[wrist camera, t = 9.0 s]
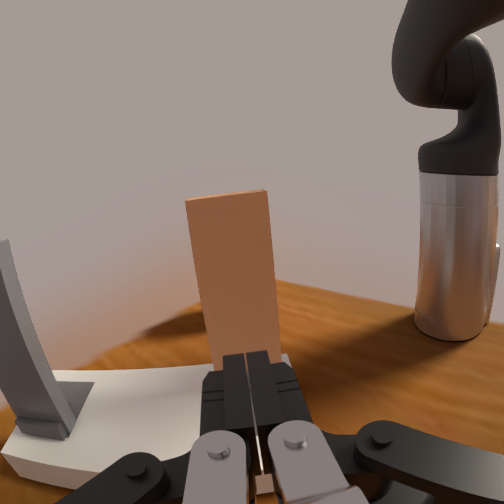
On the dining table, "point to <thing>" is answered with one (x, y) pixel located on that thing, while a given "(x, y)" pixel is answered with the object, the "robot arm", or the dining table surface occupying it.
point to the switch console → (119, 423)
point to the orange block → (235, 273)
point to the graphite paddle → (27, 363)
